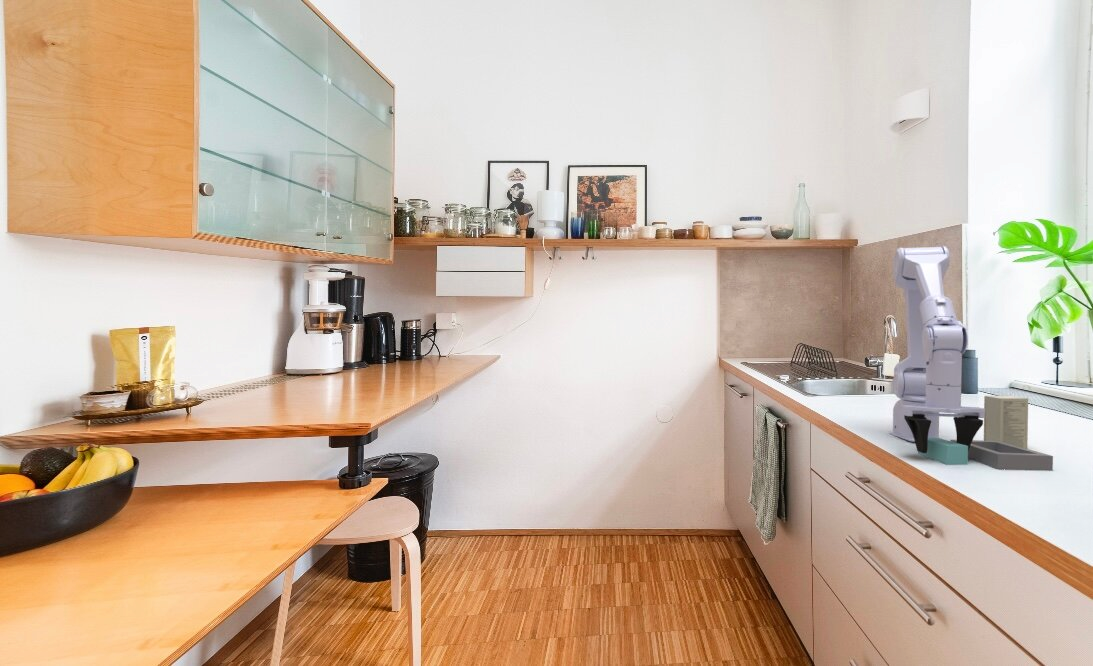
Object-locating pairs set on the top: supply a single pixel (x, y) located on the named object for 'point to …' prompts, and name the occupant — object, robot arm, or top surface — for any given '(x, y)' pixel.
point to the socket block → (1008, 456)
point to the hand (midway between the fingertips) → (942, 452)
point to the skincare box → (1006, 420)
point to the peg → (947, 452)
